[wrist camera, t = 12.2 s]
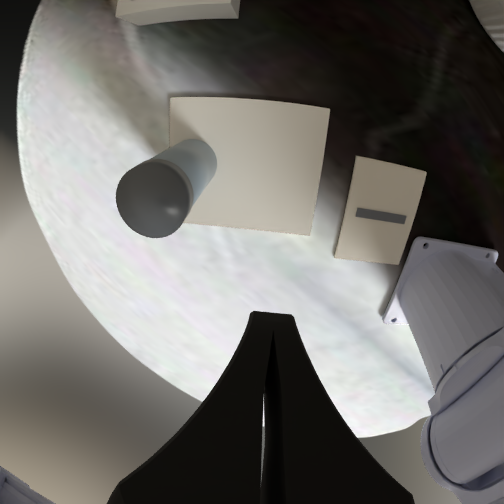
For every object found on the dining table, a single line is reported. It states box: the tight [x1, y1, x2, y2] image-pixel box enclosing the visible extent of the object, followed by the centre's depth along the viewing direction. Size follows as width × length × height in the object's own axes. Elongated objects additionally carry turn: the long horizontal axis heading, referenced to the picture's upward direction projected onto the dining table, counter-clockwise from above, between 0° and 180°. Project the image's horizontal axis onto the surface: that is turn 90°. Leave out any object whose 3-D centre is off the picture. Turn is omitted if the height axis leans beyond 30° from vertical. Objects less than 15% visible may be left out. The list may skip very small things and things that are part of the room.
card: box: [334, 156, 427, 265], centre depth 17 cm, size 5×7×1 cm
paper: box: [169, 97, 330, 236], centre depth 16 cm, size 9×8×1 cm
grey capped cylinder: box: [116, 139, 217, 238], centre depth 13 cm, size 3×3×6 cm
